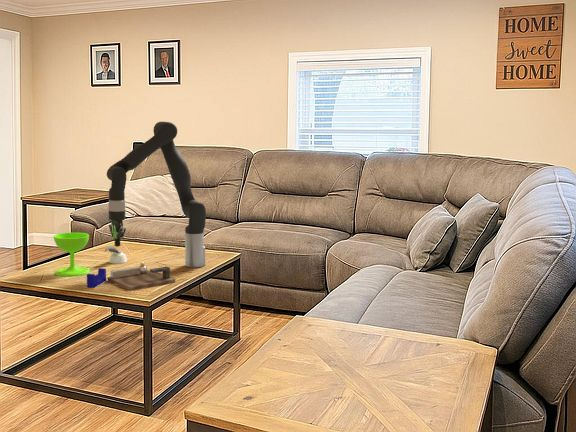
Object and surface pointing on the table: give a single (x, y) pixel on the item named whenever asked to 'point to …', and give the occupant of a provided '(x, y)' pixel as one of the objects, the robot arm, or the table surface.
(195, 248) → the robot arm
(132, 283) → the board
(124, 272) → the link
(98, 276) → the cable clip
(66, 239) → the wineglass
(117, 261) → the inkwell
